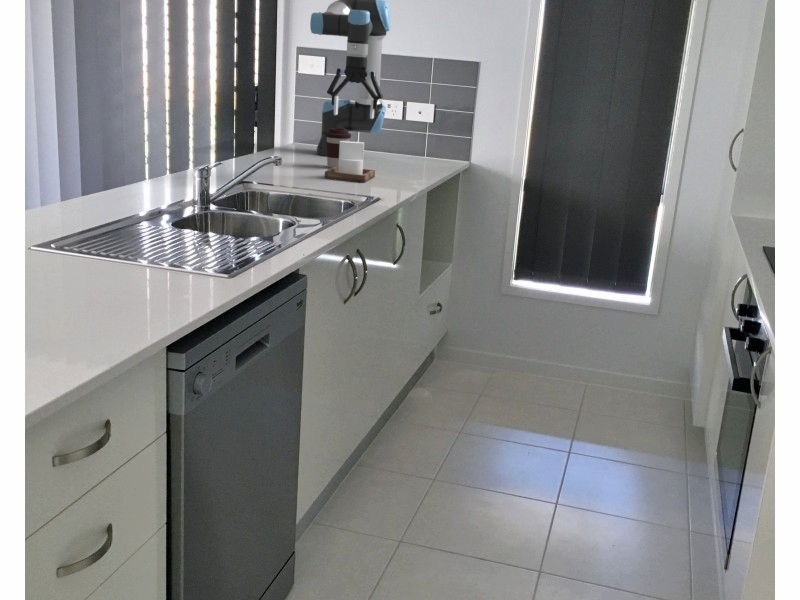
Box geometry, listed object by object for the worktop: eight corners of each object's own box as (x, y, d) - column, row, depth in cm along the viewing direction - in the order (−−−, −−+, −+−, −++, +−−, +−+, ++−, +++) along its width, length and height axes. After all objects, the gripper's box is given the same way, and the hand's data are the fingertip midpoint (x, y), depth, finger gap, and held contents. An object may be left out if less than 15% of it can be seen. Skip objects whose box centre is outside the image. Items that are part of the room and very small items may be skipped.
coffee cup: (348, 170, 330) (350, 131, 326) (322, 168, 330) (324, 129, 326) (350, 166, 340) (352, 128, 335) (325, 164, 340) (327, 126, 335)
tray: (336, 172, 323) (336, 166, 322) (374, 176, 320) (375, 170, 319) (324, 178, 309) (324, 171, 308) (364, 182, 306) (364, 175, 305)
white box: (360, 173, 319) (362, 141, 316) (363, 177, 311) (365, 144, 307) (336, 172, 318) (338, 139, 314) (339, 176, 309) (341, 143, 306)
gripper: (320, 53, 300) (317, 114, 307) (388, 59, 296) (384, 120, 303) (326, 52, 307) (323, 112, 314) (393, 58, 303) (389, 118, 309)
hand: (353, 116), depth 308 cm, fingers open, 13 cm apart
